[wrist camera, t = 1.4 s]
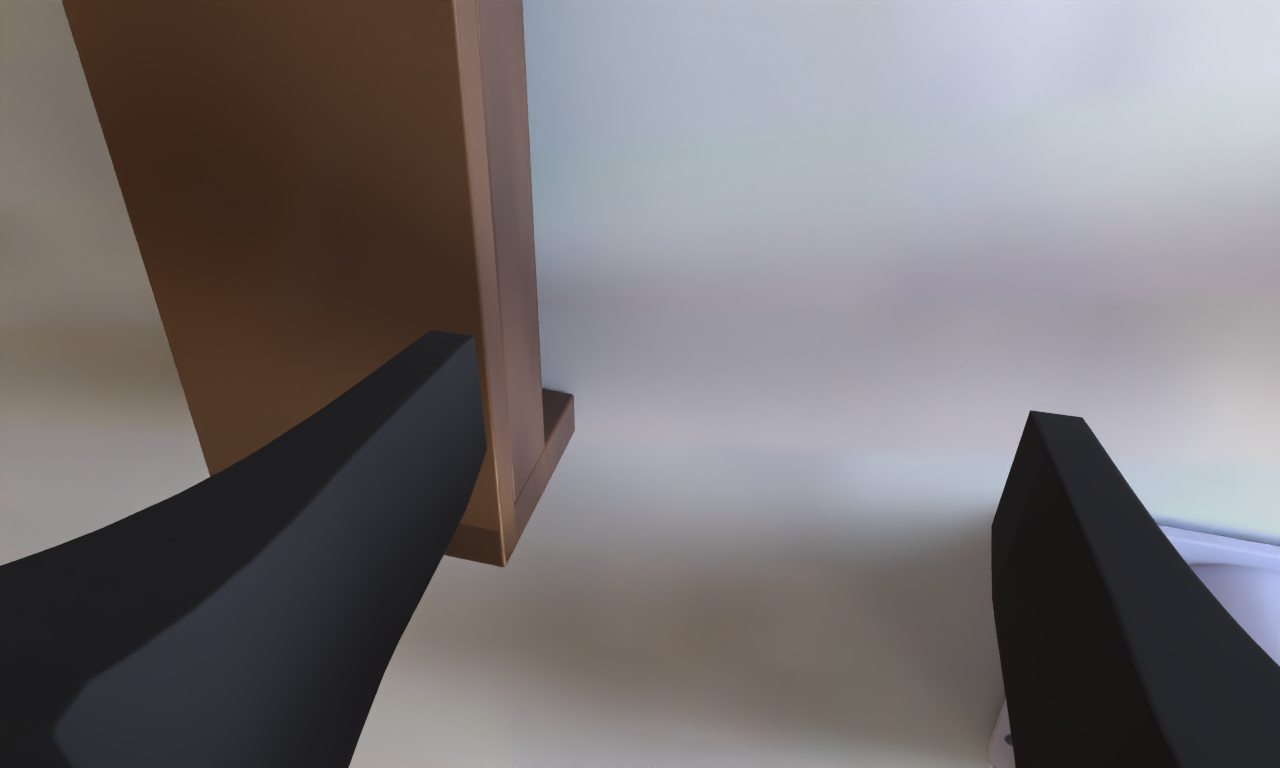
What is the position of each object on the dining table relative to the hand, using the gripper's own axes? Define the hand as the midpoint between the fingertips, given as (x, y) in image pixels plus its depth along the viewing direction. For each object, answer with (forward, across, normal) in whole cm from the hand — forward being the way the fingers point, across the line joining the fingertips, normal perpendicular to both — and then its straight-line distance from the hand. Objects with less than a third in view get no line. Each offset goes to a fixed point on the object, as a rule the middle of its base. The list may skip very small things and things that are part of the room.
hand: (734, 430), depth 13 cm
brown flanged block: (+9, +8, +1) cm, 12 cm away
